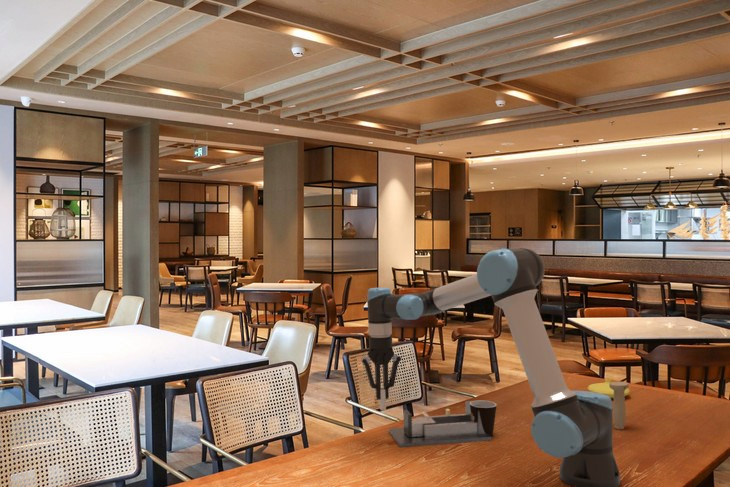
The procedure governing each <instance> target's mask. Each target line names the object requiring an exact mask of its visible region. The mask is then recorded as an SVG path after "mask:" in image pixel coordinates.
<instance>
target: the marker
mask: <svg viewBox="0 0 730 487" xmlns="http://www.w3.org/2000/svg"><path fill="white" fill-rule="evenodd" d="M445 415H451V409H449V408H445Z"/></svg>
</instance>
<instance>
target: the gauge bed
mask: <svg viewBox="0 0 730 487" xmlns="http://www.w3.org/2000/svg"><path fill="white" fill-rule="evenodd" d="M472 401H473V400H466V401H465V404H464V405H465V413H458V414H455V413H454V414H450V415H446V414H443V415H442V414H441V415H429V416H430V417H431V418H432V419H433V420H434V421H435V422H436V424H431V425H424V436H416V437H408V436H407V435H406V433H405V432H404V426H403V427H391V428H390V427H389V428H388V433H389V435H391V437H392V439H394V441H395V443H396V444H397V445H398V447H399V448H408V447H419V446H431V445H433V446H435V445H443V444H444V445H446V444H457V443H459V444H460V443H471V442H483V441H484V442H485V441H492V437H491V436H490V435H487V434H486V433H485V432H484V429H483V427H482V422H481V418H480V413H479V411H478V421H477V422H474V421H473V422H472V418H471V409H470V402H472ZM473 406H476V407H482V406H480V405H473ZM416 418H426V417H425V416H416Z"/></svg>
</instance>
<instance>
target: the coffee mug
mask: <svg viewBox="0 0 730 487" xmlns="http://www.w3.org/2000/svg"><path fill="white" fill-rule="evenodd" d="M471 401H472V402H470V409H471V418H472V422H473V421H474V422H477V421H478V411H479V413H480V418H481V422H482V427H483V429H484V432H485V433H486V434H487V435H490V436H491V438H492V437H493V436H494V428H495V423H496V421H495V420H496V413H497V405H498V404H497V403H496V402H493V401H489V400H483V399H482V400H480V399H479V400H471ZM473 405H480V406H482V407H476V406H473Z"/></svg>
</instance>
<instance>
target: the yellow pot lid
mask: <svg viewBox="0 0 730 487" xmlns="http://www.w3.org/2000/svg"><path fill="white" fill-rule="evenodd" d="M610 383H612V378H608V377H607V378H605V379H604V382H598V383H592V384H589V385H588V386H587V392H594V393H600V394H604V395H607V396H608V397H610V398H611V399H614V390H613V389H611V388H610V387H609V384H610ZM630 391H631V390H630V389H629V387H628V388H627V389H626V390H625V391H624V396H625V397H626V396H628V395H629V394H630Z"/></svg>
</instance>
